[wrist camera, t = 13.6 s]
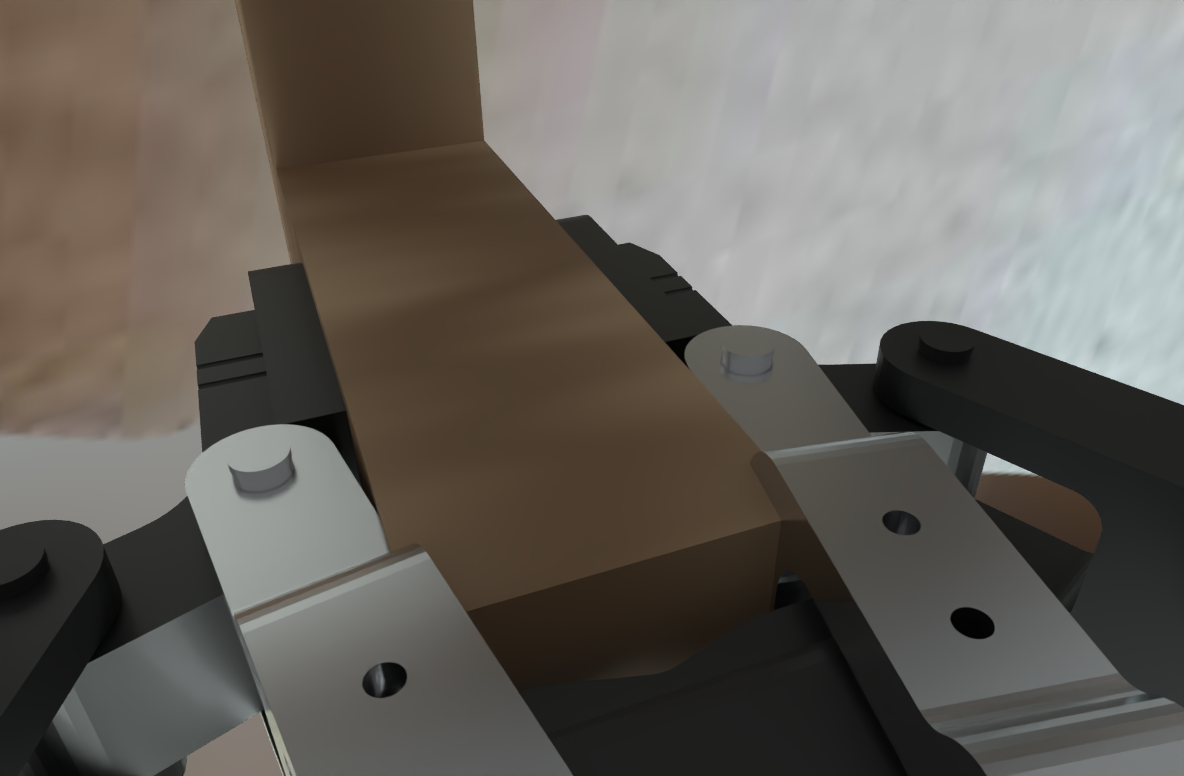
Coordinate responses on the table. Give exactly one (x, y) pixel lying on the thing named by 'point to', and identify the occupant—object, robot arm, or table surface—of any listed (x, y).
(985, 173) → the table surface
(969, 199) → the table surface
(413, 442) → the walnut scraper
